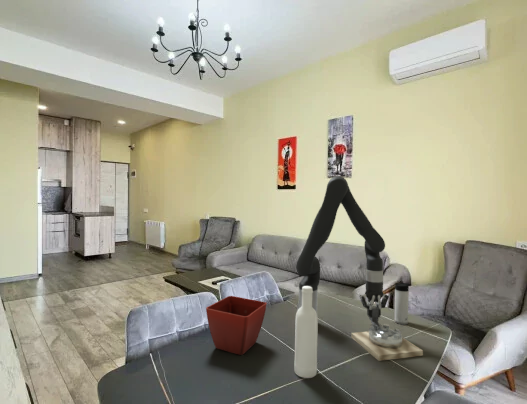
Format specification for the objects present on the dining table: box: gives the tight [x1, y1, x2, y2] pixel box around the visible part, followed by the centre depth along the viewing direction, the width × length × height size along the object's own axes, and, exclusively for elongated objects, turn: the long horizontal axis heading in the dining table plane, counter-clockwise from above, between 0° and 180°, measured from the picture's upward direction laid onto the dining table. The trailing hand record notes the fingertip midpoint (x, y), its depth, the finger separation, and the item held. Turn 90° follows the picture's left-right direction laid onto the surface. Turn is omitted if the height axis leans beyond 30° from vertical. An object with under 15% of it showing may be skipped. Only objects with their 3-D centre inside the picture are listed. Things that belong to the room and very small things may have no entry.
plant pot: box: [205, 295, 267, 356], centre depth 123 cm, size 19×19×17 cm
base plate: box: [350, 330, 424, 362], centre depth 125 cm, size 20×20×2 cm
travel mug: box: [394, 282, 410, 326], centre depth 151 cm, size 6×7×20 cm
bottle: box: [293, 286, 319, 379], centre depth 105 cm, size 8×8×30 cm
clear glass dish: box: [368, 305, 403, 348], centre depth 128 cm, size 19×13×10 cm
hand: (373, 316), depth 136 cm, fingers closed on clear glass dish, 3 cm apart
